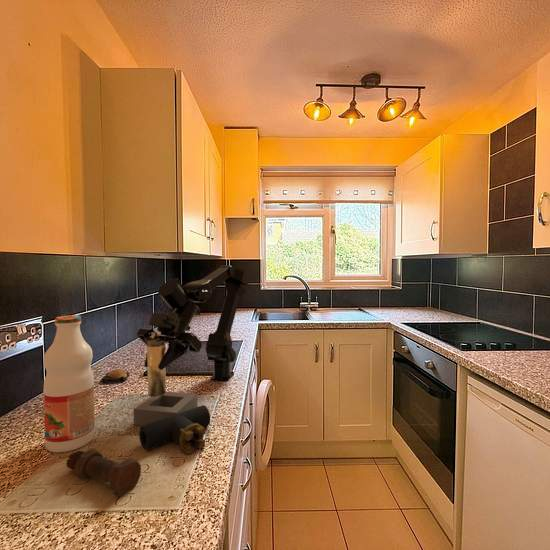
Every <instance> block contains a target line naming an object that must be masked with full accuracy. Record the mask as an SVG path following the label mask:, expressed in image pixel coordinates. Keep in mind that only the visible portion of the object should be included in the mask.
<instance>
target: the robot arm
mask: <svg viewBox="0 0 550 550" xmlns="http://www.w3.org/2000/svg"><path fill="white" fill-rule="evenodd" d="M222 283H224V288H225V291H226V295H225V299H224V302H223V306H222V309H221V313H220V316H219V321H218V324H217V328H216V330H215V331H214V332H213V333H211V332H210V333H209V334H208V336H207V337H208V338H207V341H206V343H205V345H206V346H205V352H206V353H205V354H206V356H207V361H212V362H213V375H212V376H211V377H210V378H209V380H211V381H224V382H229V380H231V378H232V377H234V373H233V372H231V363H234V362H235V361H236V360H237V359H236V358H237V353H236V351H235V349H234V348H233V340H232V337H231V331H232V328H233V324H234V320H235V318H236V317H235V316H236V313H237V309H238V305H239V301H240V298H241V297H242V296H243V294H244V293H246V291H247V290H248V289H247V288H248V286H249V284H250V278H249V275H247V273H246V272H244V271H242V270H239V269H236V268H235V266H232V265H220V266H218V268H217V269H216V270H214V271H213V272H211V273H209V274H208V275H206V276H205V277H203V278H202V279H199V280H194V281H190V282H188V283H185V284H184V286H183V284H182V283H181V281H180V279H179V278H178V277H177V278H176V277H175V278H173V277H172V278H171V279H170V280H169V281H167V282H165V283H164V284H163V285H161V286H160V287H159V288H158V295H159V296H160V297H161V299H162V300H163V301H164V302H165V304H166V305H167V306H168V307H169V308H170V309H174V310H172V312H171V311H170V312H169V313H168V314H167V313H160V312H158V313H157V312H151V315H150V317H149V320H148V323H147V324H148V325H149V326H154V327H156V330H157V331H158V332H160V334H159V333H157V332H156V331H155V330H154V329H153V328H150V327H149V328H147V327H142V328H139V330H138V331H137V332H136V335H135V336H136V337H137V338H138V339H139V340H140V341H142V343H143V344H144V345H145V346H147V340H150V339H155V338H163V339H165V344H166V343H167V345H168V347H167V349H166V350H165V355H164V357H163V359H162V361H161V363H160V365H159V369H160V370H162V369H164V368H166V367H168V366H169V365H170V364H172V363H173V362H174V361H176V360H177V359H179V358H180V357H181V356H183V355H186V354H188V350H189V351H190V352H191V353H197V354H198V353H200V350H201V349H202V341H201V340H200V339H199V338H198V336H197V335H196V334H195V332H189V331H190V330H191V329H192V327H191V326H190V324H191V322H192V320H193V319H194V317H195V316H201V314H202V313H201V309H200V306H199V305H196V304H195V303H205V302H206V301H208V299H209V298H210V297H211V296H212V292H213V290H215V289H216V288H217V287H219V286H220V285H221V284H222ZM144 367H145V368H146V369H148V366H147V354H146V356H145V360H144Z"/></svg>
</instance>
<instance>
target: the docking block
mask: <svg viewBox="0 0 550 550" xmlns="http://www.w3.org/2000/svg"><path fill="white" fill-rule="evenodd" d="M196 407H198V394H197V393H187V392H176V391H166V393H165V394H164V395H161V396H156V397H151V396H149V397H148V398H147V399H146V400H144V401H143V402H141V403H140V404H139V405H137V406H136V407H134V408H133V426H139V427H141V426H144V425H147V424H149V423H152V422H155V421H158V420H161V419H164V418H167V417H170V416H173V415H176V414H179V413H182V412H184V411H187V410H190V409H193V408H196Z"/></svg>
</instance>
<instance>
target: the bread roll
mask: <svg viewBox="0 0 550 550" xmlns="http://www.w3.org/2000/svg"><path fill="white" fill-rule="evenodd" d="M129 376H130V373H129V372H128V371H125V370H124V369H122V368H115V369H114V368H113V369H112V370H110V371H107V373H105V375H104V376H103V377H102V378H101V379H100V382H101V384H103V385H104V386H105V385H106V386H108V385H120V384H122V383H123V384H124V383H126V382H127V381H128V378H129Z"/></svg>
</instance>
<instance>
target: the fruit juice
mask: <svg viewBox="0 0 550 550" xmlns="http://www.w3.org/2000/svg"><path fill="white" fill-rule="evenodd" d="M81 324H82V316H81V315H76V314H75V315H74V314H73V315H72V314H71V315H62V316H57V317H55V318H54V325H55V326H56V332H55V336H54V339H53V342H52V344H51V345H50V346H49V347H48V349H47V350H46V352H45V353H44V357H43V365H44V368H45V371H46V376H45V377H44V379H43V380H44V381H43V417H44V418H43V421H44V422H43V426H44V427H43V428H44V430H43V431H44V446H45V449H46V450H47V452H51V453H66V452H71V451H74V450H77V449H80V448H82V447H85V445H87V444H88V443H90V442H91V441H92V440H93V439H94V437H95V434H96V433H95V430H96V428H95V427H96V425H95V424H96V423H95V378H94V372H93V369H92V368H91V366H92V365H91V364H92V362H93V361H92V360H93V356H94V355H93V349H92V346H90V345H89V343H88V342H86V340H85V339H84V337H83V335H82V332H81Z"/></svg>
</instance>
